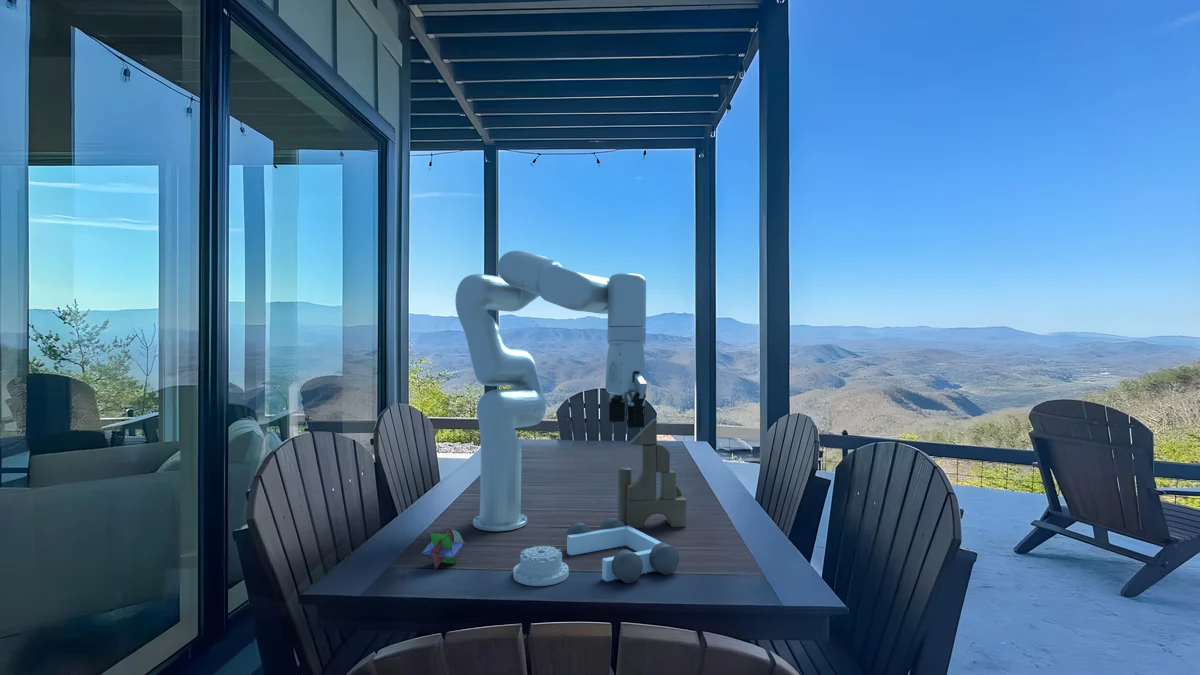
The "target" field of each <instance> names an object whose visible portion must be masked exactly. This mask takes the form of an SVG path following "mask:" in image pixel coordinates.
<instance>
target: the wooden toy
mask: <svg viewBox="0 0 1200 675" xmlns="http://www.w3.org/2000/svg"><path fill="white" fill-rule="evenodd" d="M657 434H658V420H657V419H656V418H652V420H650V421H649V422H648V424H646V425H644V427H642V428H641V430H640V431H639V432H638V433H637V434H636V435H635V436H634V437H633V438H632V439H631V440H630V441H629V444H630V445H631V446H640V475H639V476H638V478H637V480H635V481H632V474H633V473H632V472H633V471H632V470H633V469H632V468H631V467H627V466H624V467H621V466H620V467H619V468H618V478H617V480H618V485H617V486H618V488H617V492H618V493H617V494H618V497H617V500H618V502H617V503H618V504H617V511H618V512H617V514H618V515H617V516H618V517H617V519H618V520H620V521H622V522H623V523H624V524H625V525H626V526H630V527H632V528H634V529H644V527H645V523H646V521H647V520H648V519H649V517H651V516H654V515H656V514H657V515H661V516H662V515H663V516H664V517H665V520H666V522H667V523H668V525H669V526H670V527H671V528H686V527H687V499H686V498H685V497H684V496H683V494H682V492H681V490H680V488H679V487H678V486H677V484H676V483H677V482H676V481H677V473H676V471H674V469H670V467H671V466H670V465H671V464H670V462H671V459H670V458H671V455H670V454H671V453H670V451H669V450H668V449H667V448H666V446H665V445H663V443H661V442H658V441H657V440H658V435H657ZM657 473H659V476H660V477H659V496H657Z"/></svg>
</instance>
